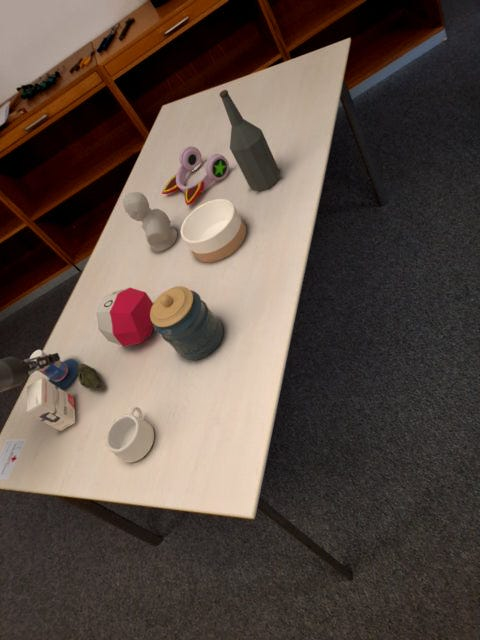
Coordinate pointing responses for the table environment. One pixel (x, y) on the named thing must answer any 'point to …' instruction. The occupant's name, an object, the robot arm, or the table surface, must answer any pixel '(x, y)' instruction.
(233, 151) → the bottle
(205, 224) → the bowl
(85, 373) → the decorative stone
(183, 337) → the canister
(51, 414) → the ink box
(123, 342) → the decorative object
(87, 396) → the table surface
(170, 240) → the figurine
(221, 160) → the headphones
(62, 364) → the pill bottle
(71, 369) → the coaster
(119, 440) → the mug
